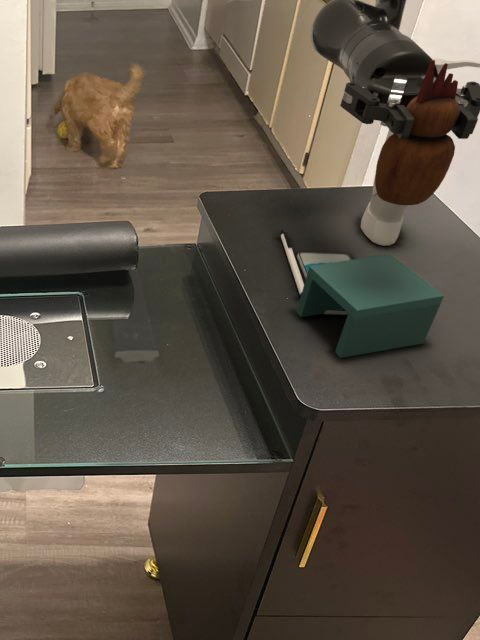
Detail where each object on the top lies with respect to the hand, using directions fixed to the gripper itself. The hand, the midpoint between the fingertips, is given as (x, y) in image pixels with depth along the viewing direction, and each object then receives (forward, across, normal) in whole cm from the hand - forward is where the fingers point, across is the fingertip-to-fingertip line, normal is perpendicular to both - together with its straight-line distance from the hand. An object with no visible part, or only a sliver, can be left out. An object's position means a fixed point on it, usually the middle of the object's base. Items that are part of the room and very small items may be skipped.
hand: (437, 129), depth 73 cm
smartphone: (-12, 0, +27) cm, 29 cm away
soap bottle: (-27, +11, +27) cm, 40 cm away
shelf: (-2, 0, +26) cm, 26 cm away
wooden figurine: (-3, 0, +9) cm, 10 cm away
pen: (-16, -5, +26) cm, 31 cm away
